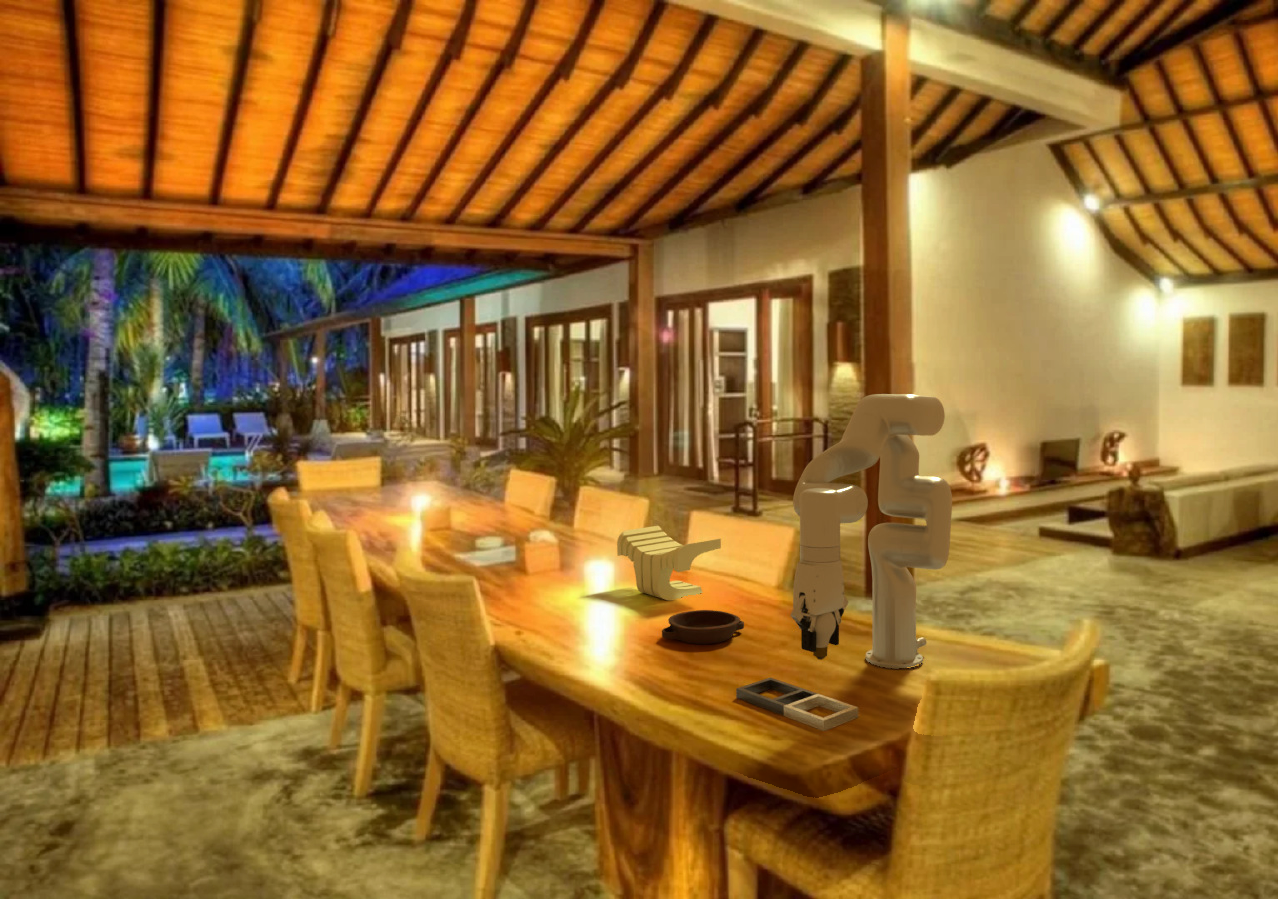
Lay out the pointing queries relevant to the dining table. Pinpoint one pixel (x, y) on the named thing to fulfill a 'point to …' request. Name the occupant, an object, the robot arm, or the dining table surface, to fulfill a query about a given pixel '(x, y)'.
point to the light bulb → (823, 633)
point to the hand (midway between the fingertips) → (820, 646)
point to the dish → (702, 626)
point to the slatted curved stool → (661, 560)
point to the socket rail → (797, 703)
